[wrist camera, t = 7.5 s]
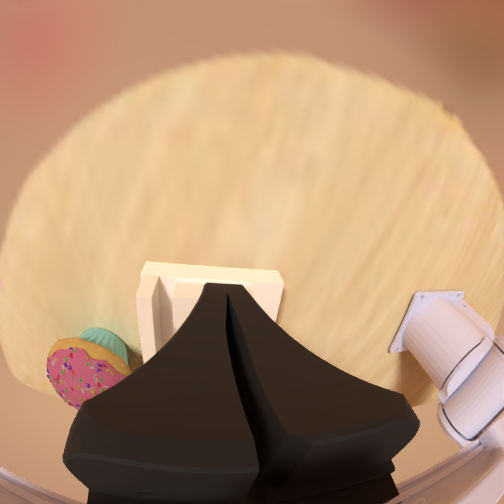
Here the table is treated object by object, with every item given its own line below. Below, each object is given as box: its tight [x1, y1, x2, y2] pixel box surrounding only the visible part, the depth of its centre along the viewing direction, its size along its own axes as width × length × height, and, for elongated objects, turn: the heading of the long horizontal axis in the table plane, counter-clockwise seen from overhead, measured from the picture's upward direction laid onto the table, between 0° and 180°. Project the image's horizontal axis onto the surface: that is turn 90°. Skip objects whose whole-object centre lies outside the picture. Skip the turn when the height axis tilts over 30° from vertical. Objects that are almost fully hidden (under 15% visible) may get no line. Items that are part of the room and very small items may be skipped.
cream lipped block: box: [136, 261, 284, 363], centre depth 21 cm, size 10×13×5 cm
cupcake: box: [46, 328, 132, 410], centre depth 17 cm, size 9×8×12 cm
